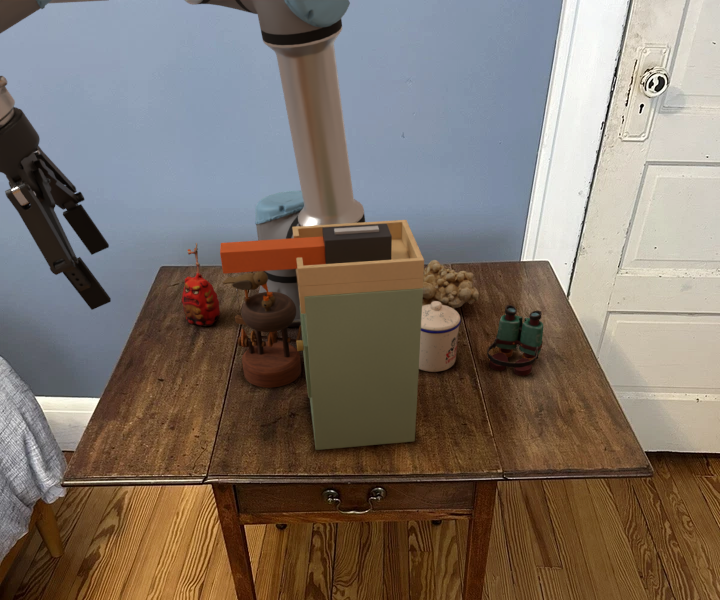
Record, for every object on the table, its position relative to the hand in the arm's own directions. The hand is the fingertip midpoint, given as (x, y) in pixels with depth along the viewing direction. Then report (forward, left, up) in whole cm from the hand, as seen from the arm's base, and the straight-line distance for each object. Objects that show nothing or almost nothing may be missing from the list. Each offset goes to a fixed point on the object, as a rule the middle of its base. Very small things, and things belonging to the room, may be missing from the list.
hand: (100, 275), depth 92 cm
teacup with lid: (+1, +54, -28) cm, 61 cm away
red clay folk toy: (-33, +20, -28) cm, 48 cm away
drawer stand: (+12, +33, -28) cm, 45 cm away
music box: (-8, +26, -28) cm, 39 cm away
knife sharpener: (+9, +26, 0) cm, 28 cm away
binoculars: (+11, +65, -28) cm, 72 cm away
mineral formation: (-14, +66, -28) cm, 73 cm away
